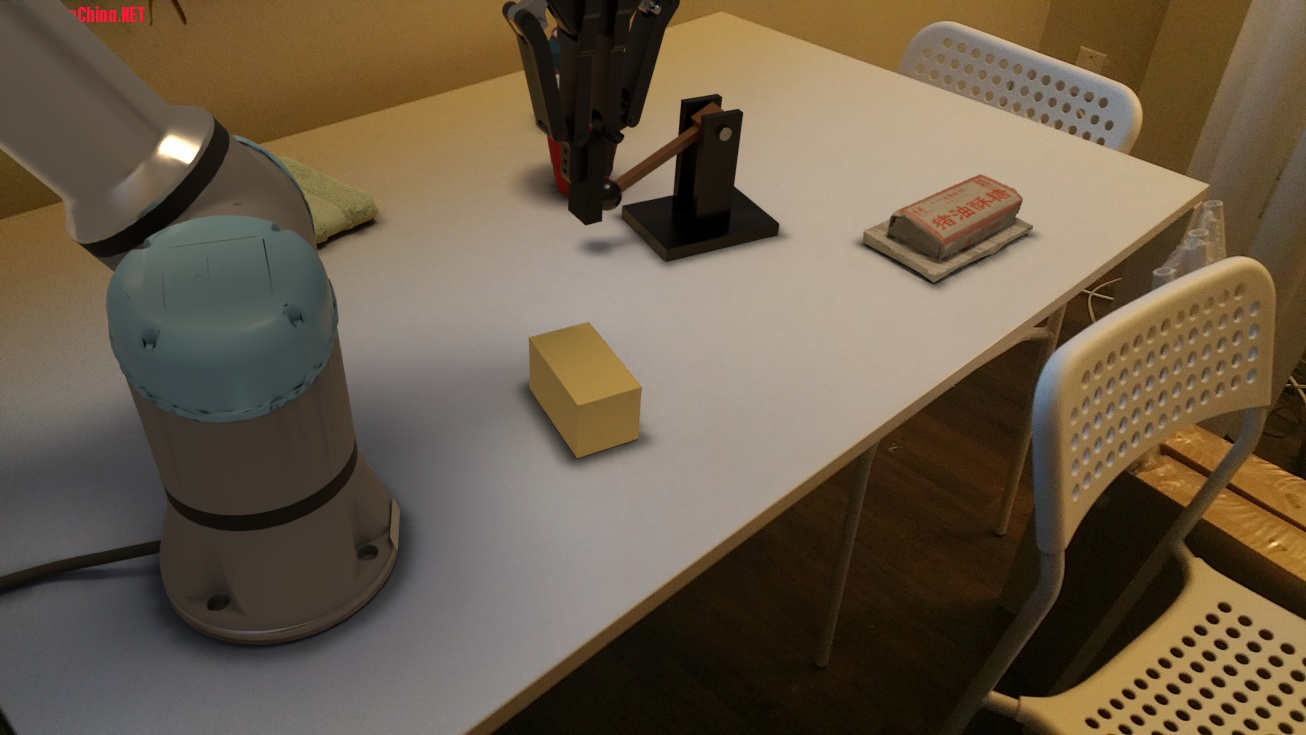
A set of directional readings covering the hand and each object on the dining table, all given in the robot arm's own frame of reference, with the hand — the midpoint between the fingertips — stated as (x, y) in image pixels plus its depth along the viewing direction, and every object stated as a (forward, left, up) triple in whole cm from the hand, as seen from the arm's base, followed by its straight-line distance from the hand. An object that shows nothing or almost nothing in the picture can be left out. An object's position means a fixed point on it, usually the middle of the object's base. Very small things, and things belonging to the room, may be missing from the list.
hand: (584, 215), depth 76 cm
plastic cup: (+15, +31, -16) cm, 38 cm away
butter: (-2, -5, -16) cm, 16 cm away
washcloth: (-17, +37, -16) cm, 44 cm away
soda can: (+21, +46, -16) cm, 53 cm away
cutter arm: (+18, +18, -8) cm, 26 cm away
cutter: (+23, +18, -16) cm, 33 cm away
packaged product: (+47, +5, -16) cm, 50 cm away
